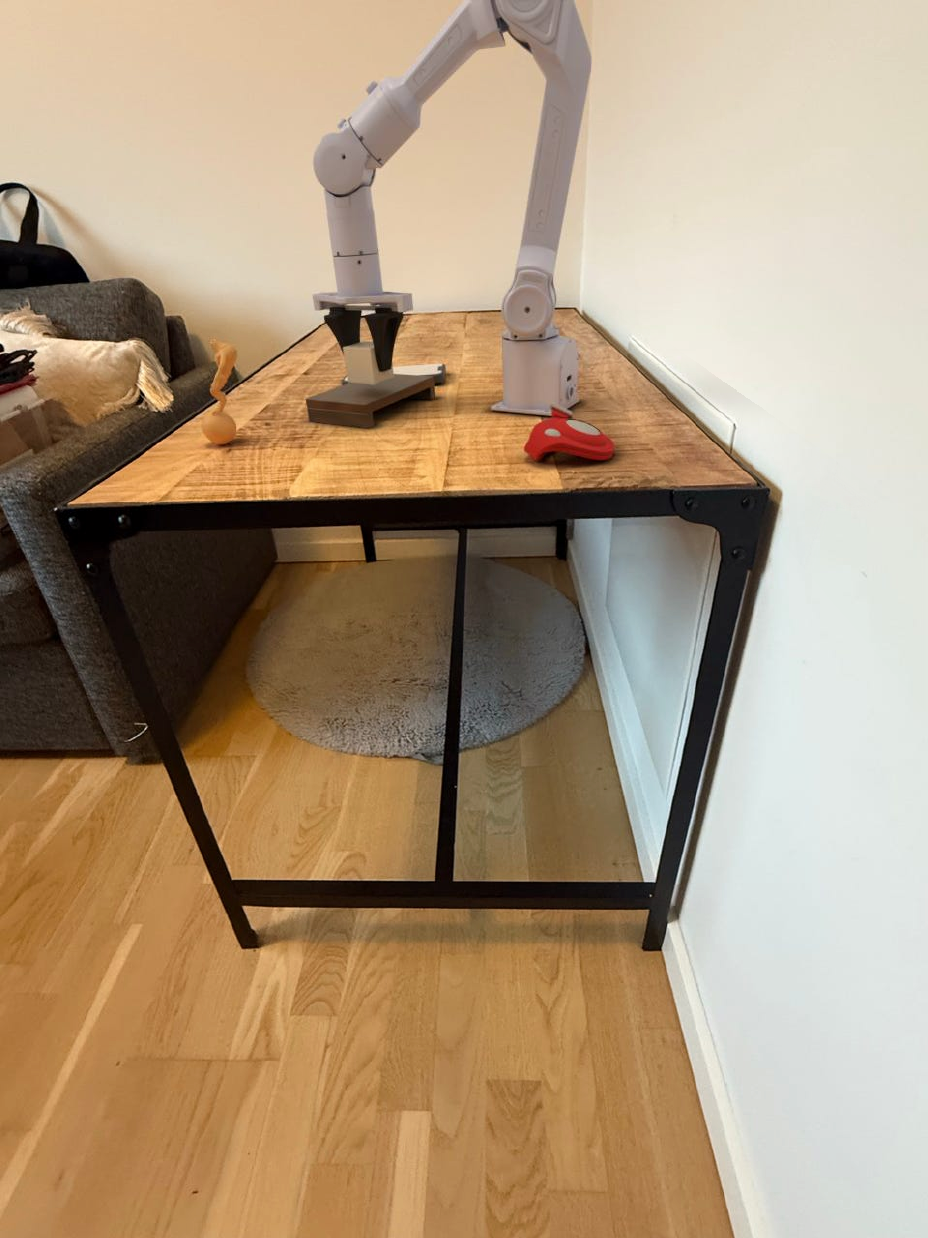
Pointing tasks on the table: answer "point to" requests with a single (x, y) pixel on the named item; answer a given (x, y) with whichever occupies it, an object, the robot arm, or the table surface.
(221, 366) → the figurine
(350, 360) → the block
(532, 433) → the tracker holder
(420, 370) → the phone case
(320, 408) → the shelf
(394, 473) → the table surface
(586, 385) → the table surface
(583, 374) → the table surface
